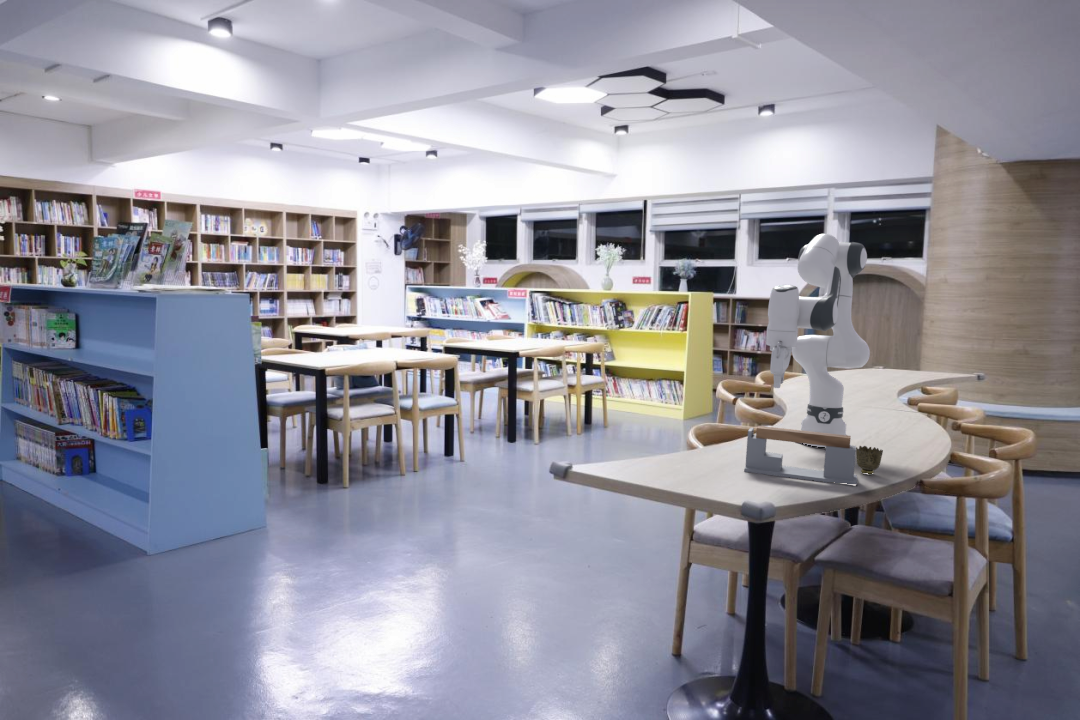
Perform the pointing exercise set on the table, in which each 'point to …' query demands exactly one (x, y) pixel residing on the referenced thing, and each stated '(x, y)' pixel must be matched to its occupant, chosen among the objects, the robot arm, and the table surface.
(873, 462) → the cup
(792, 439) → the walnut bar
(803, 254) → the robot arm
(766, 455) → the notched stand
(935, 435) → the table surface
